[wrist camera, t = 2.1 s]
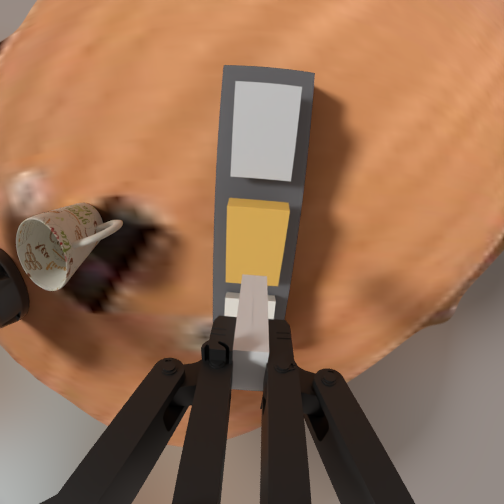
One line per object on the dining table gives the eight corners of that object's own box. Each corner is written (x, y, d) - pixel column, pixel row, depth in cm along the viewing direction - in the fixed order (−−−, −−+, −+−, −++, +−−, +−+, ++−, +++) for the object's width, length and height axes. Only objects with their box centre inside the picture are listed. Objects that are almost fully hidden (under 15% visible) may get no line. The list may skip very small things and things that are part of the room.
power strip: (217, 361, 39) (213, 387, 34) (229, 75, 24) (222, 62, 19) (270, 364, 39) (271, 392, 35) (306, 82, 24) (316, 70, 19)
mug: (56, 203, 30) (7, 228, 21) (128, 175, 29) (79, 195, 19) (75, 258, 33) (34, 294, 24) (147, 241, 32) (110, 282, 23)
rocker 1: (232, 170, 24) (230, 176, 22) (237, 81, 19) (235, 81, 18) (289, 175, 24) (290, 181, 22) (299, 86, 19) (302, 86, 18)
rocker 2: (227, 271, 28) (225, 282, 26) (229, 197, 23) (227, 205, 22) (277, 275, 28) (277, 286, 26) (288, 202, 23) (289, 210, 22)
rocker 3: (223, 355, 30) (222, 362, 29) (226, 291, 29) (225, 297, 27) (267, 358, 30) (267, 366, 29) (274, 295, 29) (275, 301, 27)
